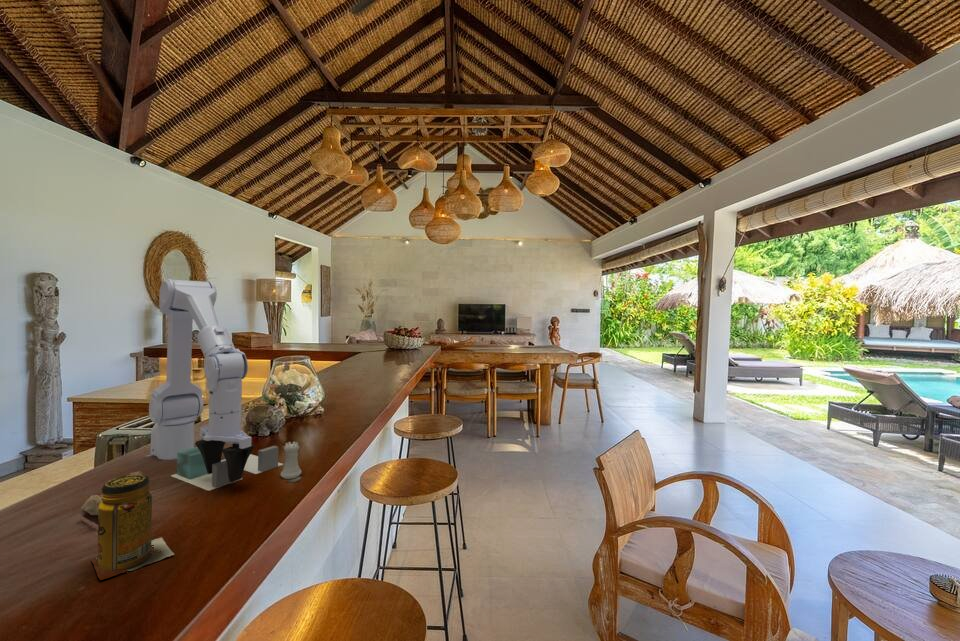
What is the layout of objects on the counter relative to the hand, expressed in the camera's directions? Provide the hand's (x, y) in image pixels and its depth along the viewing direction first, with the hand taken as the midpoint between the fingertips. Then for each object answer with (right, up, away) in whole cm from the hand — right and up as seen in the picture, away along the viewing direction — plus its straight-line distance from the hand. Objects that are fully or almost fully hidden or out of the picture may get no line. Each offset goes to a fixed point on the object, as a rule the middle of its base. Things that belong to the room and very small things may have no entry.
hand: (224, 476), depth 86 cm
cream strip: (-6, -2, +3) cm, 7 cm away
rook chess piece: (+11, -3, +5) cm, 13 cm away
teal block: (-9, -1, +5) cm, 10 cm away
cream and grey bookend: (-1, -2, +12) cm, 12 cm away
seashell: (-14, -3, -9) cm, 16 cm away
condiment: (+1, -3, -24) cm, 25 cm away
